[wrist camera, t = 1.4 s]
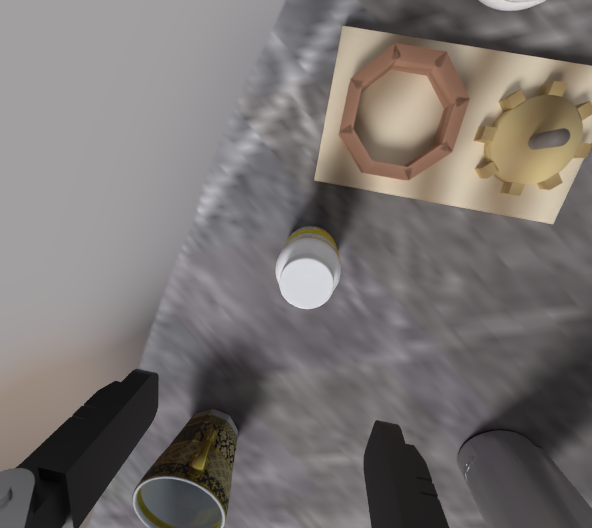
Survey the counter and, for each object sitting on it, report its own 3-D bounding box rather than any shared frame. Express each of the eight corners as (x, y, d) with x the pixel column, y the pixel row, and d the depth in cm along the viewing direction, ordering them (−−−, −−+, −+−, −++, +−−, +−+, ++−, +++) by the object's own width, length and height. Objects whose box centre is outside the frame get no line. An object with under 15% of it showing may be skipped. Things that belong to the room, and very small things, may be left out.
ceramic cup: (236, 464, 40) (208, 555, 30) (171, 438, 39) (123, 521, 30) (268, 400, 35) (248, 481, 26) (196, 370, 35) (149, 442, 26)
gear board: (609, 76, 22) (683, 50, 18) (542, 222, 26) (589, 231, 21) (341, 33, 23) (346, -3, 18) (314, 180, 27) (312, 180, 22)
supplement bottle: (318, 283, 30) (316, 330, 21) (276, 257, 30) (254, 294, 20) (347, 242, 28) (359, 274, 19) (302, 214, 28) (292, 233, 19)
